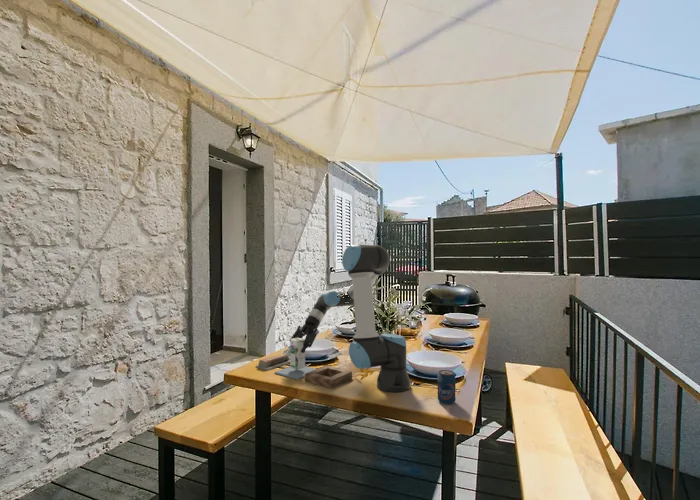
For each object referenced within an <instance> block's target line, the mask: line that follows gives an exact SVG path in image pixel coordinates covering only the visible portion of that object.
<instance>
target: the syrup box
mask: <svg viewBox="0 0 700 500" xmlns="http://www.w3.org/2000/svg"><path fill="white" fill-rule="evenodd" d="M304 341H305V338H293V339H291V338H290V339H289V346H290V357H289V360H290V364H289V367H290V368H293V369H296V370H297V369H301V368H304V367H305V366H306V351H305V352H304V353H303V354H302V355H301V357H300V359H298V358H297V357H296V354H297V353H298V351H299V349H300V347H301V346H302V345H303V344H304ZM303 346H304V345H303Z"/></svg>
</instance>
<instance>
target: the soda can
mask: <svg viewBox="0 0 700 500" xmlns="http://www.w3.org/2000/svg"><path fill="white" fill-rule="evenodd" d="M437 400H438V402H439V403H440V404H441V405H444V406H445V405H446V406H451V405H452V406H453V405H454V404H455V402H456V376H455V372H453V371H452V370H449V369H448V370H447V369H443V370H442V369H441V370H439V371H438V374H437Z"/></svg>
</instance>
